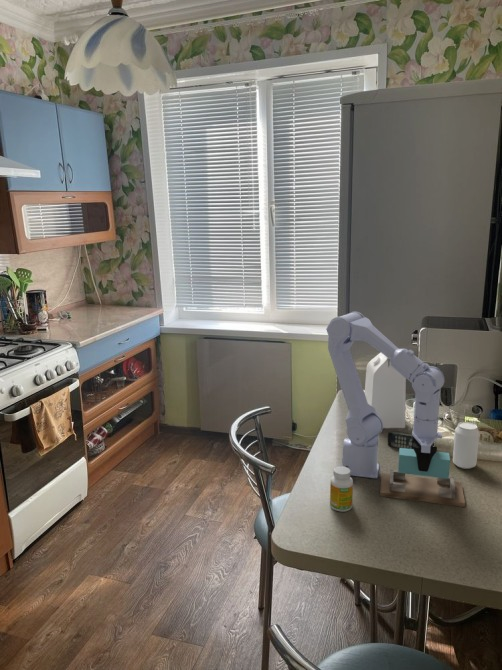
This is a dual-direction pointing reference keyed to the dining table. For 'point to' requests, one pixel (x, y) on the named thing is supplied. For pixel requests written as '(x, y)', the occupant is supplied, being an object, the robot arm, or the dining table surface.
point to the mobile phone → (401, 439)
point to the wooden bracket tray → (422, 489)
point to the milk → (386, 391)
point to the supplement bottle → (341, 489)
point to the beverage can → (466, 445)
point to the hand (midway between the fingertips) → (422, 466)
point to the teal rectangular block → (436, 468)
